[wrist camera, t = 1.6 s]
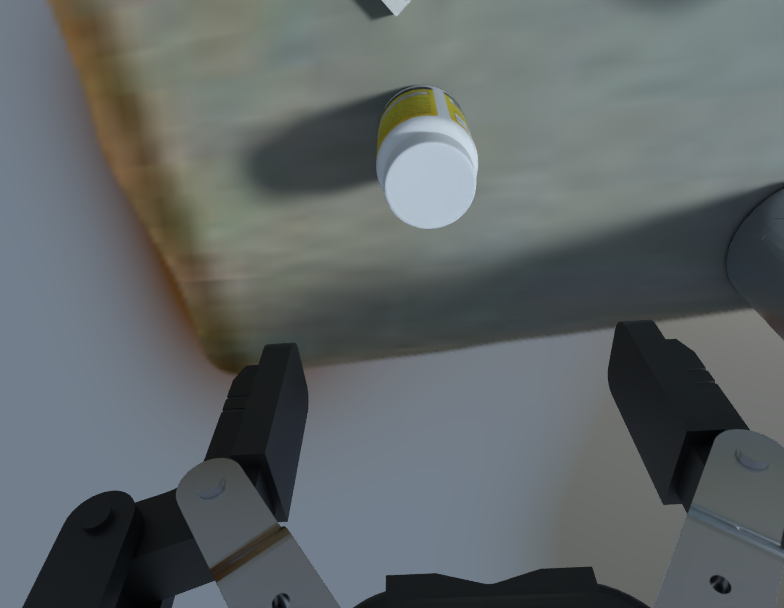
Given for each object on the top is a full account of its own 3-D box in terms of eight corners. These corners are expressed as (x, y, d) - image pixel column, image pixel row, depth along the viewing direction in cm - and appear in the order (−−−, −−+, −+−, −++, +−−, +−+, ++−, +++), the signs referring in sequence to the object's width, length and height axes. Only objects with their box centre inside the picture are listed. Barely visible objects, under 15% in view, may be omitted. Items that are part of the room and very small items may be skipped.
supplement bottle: (366, 152, 31) (358, 216, 24) (396, 69, 28) (396, 114, 21) (444, 180, 32) (457, 250, 25) (479, 103, 29) (505, 156, 22)
